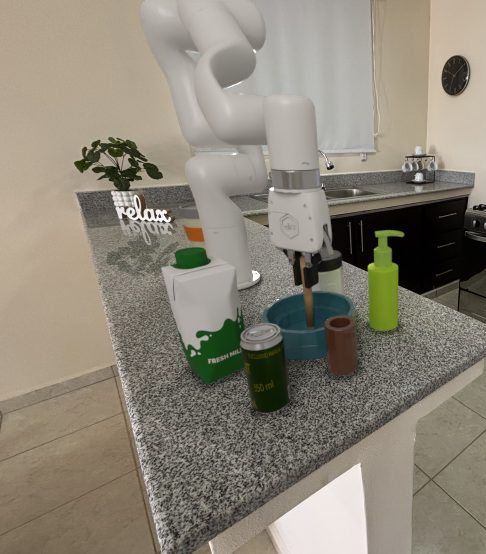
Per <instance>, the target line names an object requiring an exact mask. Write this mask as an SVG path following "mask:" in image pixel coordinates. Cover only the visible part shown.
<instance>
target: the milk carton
mask: <svg viewBox="0 0 486 554" xmlns="http://www.w3.org/2000/svg"><path fill="white" fill-rule="evenodd" d="M174 258H175V262H176V263H172V264H170V265H167V266H162V267H160V269H161V272H162V276H163V280H164V284H165V288H166V291H167V297H168V300H169V305H170V308H171V311H172V315H173V319H174V322H175V326H176V329H177V333H178V338H179V341H180V344H181V348H182V351H183V354H184V356H185V358H186V360H187V363H188V364H189V367H190V369H191V370H192V371H193V372H194V373H195V374H196V375H197V376H198V377H199V378H200V379H201V380H202V381H203V382H204V383H205V385H210V384H212V383H215V382H217V381H219V380H221V379H223V378H225V377H228V376H229V375H232V374H234V373H237V372H238V371H241V370H243V369H245V368H244V363H243V358H242V353H241V347H240V341H241V333H242V332H243V331H244V330H246V326H245V322H244V316H243V310H242V305H241V299H240V294H239V293H240V292H239V290H238V288H237V277H236V268H235V267H234V266H232V265H230V264H229V263H228V262H226V261H223V260H222V259H220V258H218V257H216V256H211V257H208V256H207V254H206V250H205V249H204V248H201V247H193V246H191V247H185V248H181V249H178V250H176V251H174Z"/></svg>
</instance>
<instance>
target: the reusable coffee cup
mask: <svg viewBox="0 0 486 554" xmlns="http://www.w3.org/2000/svg"><path fill="white" fill-rule="evenodd" d="M178 212H179V213H178V214H179V217H180V218H181V220H182V223H183V224H182V227H183V230H184V232H185V234H186V237H187V239H188V241H190V244H191V247H201V248H204V249H205V250H206V246H205V241H204V237H203V232H202V227H201V223H200V218H199V214H198V210H197V206H196V203H195V202H192V203H190V202H189V203H186V204H185V203H184V204H182V205H179V206H178ZM206 254H207V251H206ZM207 257H208V255H207Z"/></svg>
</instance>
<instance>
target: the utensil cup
mask: <svg viewBox="0 0 486 554" xmlns="http://www.w3.org/2000/svg"><path fill="white" fill-rule="evenodd" d="M356 323H357V322H356V318H355V319H354V318H352V317H350V316H346V315H339V316H334V317H331V318H329V319H328V320H326V321H325V324H324V328H325V340H326V352H327V356H326V362H327V370H328V372H329V373H330V374H332V375H333V376H339V377H344V376H348V375H350V374H352V373H354V372H355V371H356V370H357V369H358V345H357V344H358V342H357V325H356Z"/></svg>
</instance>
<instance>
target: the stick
mask: <svg viewBox="0 0 486 554" xmlns="http://www.w3.org/2000/svg"><path fill="white" fill-rule="evenodd" d="M300 267H301V276H302V285H301V286H302V292H303V295H304V305H305V314H306V324H307V328H308V329H309V330H313V329H314V328H315V316H314V305H313V295H312V287H311V288H309V289H308V288H305V284H304V274H303V268H304V267H306V265H305V254H304V255H303V256H301V257H300Z"/></svg>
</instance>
